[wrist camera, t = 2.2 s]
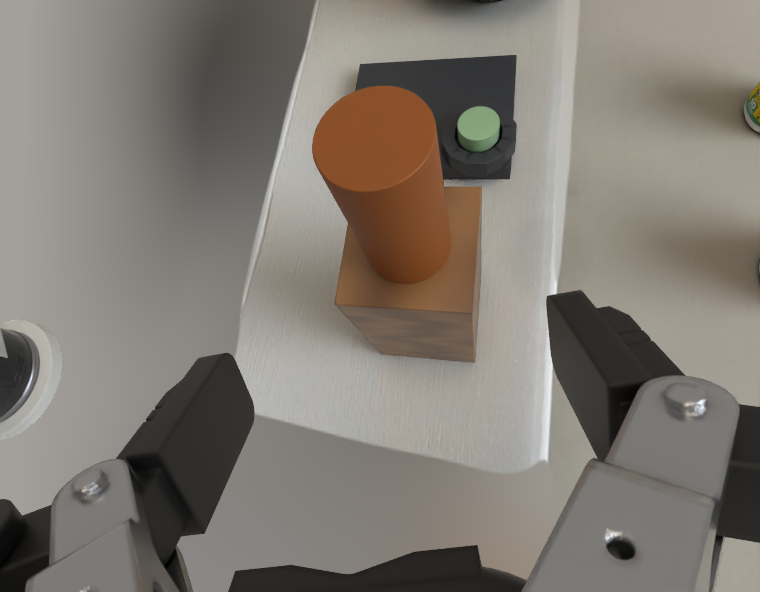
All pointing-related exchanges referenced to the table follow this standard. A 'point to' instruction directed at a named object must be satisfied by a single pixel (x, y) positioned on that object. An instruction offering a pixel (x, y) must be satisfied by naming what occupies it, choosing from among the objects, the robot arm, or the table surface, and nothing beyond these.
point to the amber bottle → (387, 179)
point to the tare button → (478, 129)
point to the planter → (485, 0)
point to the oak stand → (421, 292)
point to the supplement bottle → (753, 109)
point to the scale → (458, 105)
